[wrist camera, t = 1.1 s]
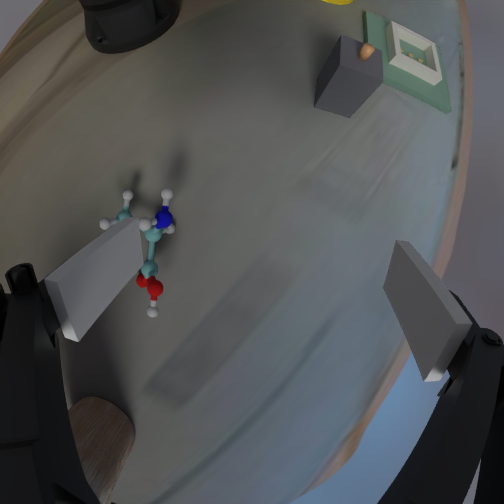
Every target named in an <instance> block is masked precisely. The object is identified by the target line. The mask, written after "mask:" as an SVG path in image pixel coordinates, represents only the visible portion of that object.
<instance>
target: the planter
mask: <svg viewBox="0 0 504 504" xmlns="http://www.w3.org/2000/svg"><path fill="white" fill-rule="evenodd" d="M68 414H69V419H70V423H71V428H72V432H73V436H74V440H75V444H76V448H77V451H78V455H79V458H80V462H81V465H82V468H83V471H84V475H85V477H86V480H87V482H88V484H89V486H90V487H91V488H92V490H93V491H94V493H95V494H96V496H97V498H98V499H99V501H100V503H101V504H106V503H107V501H108V499H109V496H110V494H111V492H112V490H113V487H114V485H115V483H116V481H117V479H118V477H119V474H120V472H121V470H122V468H123V466H124V464H125V461H126V459H127V457H128V455H129V453H130V451H131V449H132V446H133V444H134V441H135V430H134V427H133V425H132V423H131V421H130V420H129V418H128V417H127V416H126V414H125V413H124V412H123V411H122V410H121V409H119V408H118V407H117V406H116V405H114V404H112V403H111V402H109V401H107V400H105V399H102V398H99V397H84V398H82V399H80V400H79V401H78V402H76V403H75V404H74V405H73V406H72V407H71V408H70V409H69V410H68Z"/></svg>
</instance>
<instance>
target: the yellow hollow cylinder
mask: <svg viewBox="0 0 504 504" xmlns="http://www.w3.org/2000/svg"><path fill="white" fill-rule="evenodd" d="M323 1H325V2H329V3H333V4H340V5H344V4H349V3H351V2H352V1H353V0H323Z"/></svg>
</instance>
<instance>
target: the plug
mask: <svg viewBox="0 0 504 504" xmlns="http://www.w3.org/2000/svg"><path fill="white" fill-rule="evenodd" d="M383 81H384V80H383V60H382V50H379V49H377V48H375V47H374V46H373V45H372V44H370V43H362V42H359V41H357V40H354V39H351V38H348V37H345V36H342V35H341V36H340V38H339V40H338V42H337V44H336V45H335V47H334V49H333V51H332V53H331V55H330V57H329V58H328V60H327V62H326V64H325V66H324V68H323V70H322V71H321V73H320V75H319V77H318V79H317V87H316V96H315V103H314V107H315V108H319V109H322V110H325V111H329V112H332V113H335V114H339V115H342V116H345V117H348V118H350V117H351V116H352V115H353V114H354V113H355V112H356V110H357V109H358V108H359V107H360V106H361V105H362V104H363V103H364V102H365V101H366V100H367V99H368V97H369V96H370V95H371V94H372V93H373V92H374V91H375V90H376V89H377V88H378V87H379V86H380V85H381V84H382V83H383Z"/></svg>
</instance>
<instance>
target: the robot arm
mask: <svg viewBox="0 0 504 504" xmlns="http://www.w3.org/2000/svg"><path fill="white" fill-rule="evenodd" d="M79 2H80V3H81V5H82V7H83V9H84V16H85V30H86V36H87V39H88V41H89V42H90V44H91V45H92V47H93V48H94V49H95V50H97V51H99V52H102V53H107V54H115V53H122V52H127V51H131V50H134V49H137V48H139V47H142V46H144V45H146V44H148V43H150V42H152V41H153V40H155V39H157V38H158V37H160V36H161V35H162V34H164V33H165V32H166V31H167V30H168V29H169V28H170V27H171V26H172V25H173V24H174V22H175V20H176V19H177V16H178V5H177V0H79ZM143 265H144V263H143V255H142V247H141V239H140V229H139V219H138V218H136V217H125V218H124V219H122V220H121V221H120V222H118V223H117V224H115V225H114V226H112V227H111V228H110V229H108V230H107V231H105V232H104V233H103V234H101V235H100V236H98V237H97V238H96V239H94V240H93V241H92V242H90V243H89V244H88V245H86V246H85V247H84V248H82V249H81V250H80V251H78V252H77V253H76V254H75V255H73V256H72V257H71V258H69V259H67V260H66V261H65V262H64V263H62V264H61V266H59V267H57V268H56V269H55V270H54V271H52V272H51V273H50V274H49V275H48V276H46V277H45V278H44V279H43V280H42V281H40V282H39V283H38V282H37V279H36V276H35V272H34V269H33V266H32V265H31V264H30V263H23V264H19V265H16V266H14V267H12V268H11V269H9V270H8V271H7V272H6V274H5V277H6V280H7V282H8V285H9V288H10V291H11V294H5V292H4V290H3V287H2V284H0V504H101V503H100V501H99V499H98V498H97V496H96V494H95V493H94V491H93V490H92V488H91V487H90V486H89V484H88V482H87V480H86V477H85V475H84V471H83V468H82V465H81V462H80V458H79V455H78V451H77V448H76V444H75V440H74V436H73V432H72V428H71V423H70V419H69V414H68V409H67V403H66V398H65V392H64V385H63V378H62V370H61V361H60V351H59V338H58V336H57V333H56V331H57V329H58V328H59V327H60V326H61V329H62V331H63V334H64V336H65V338H68V339H71V340H74V341H77V342H79V341H80V340H81V338H82V337H83V336H84V335H85V333H86V332H87V331H88V330H89V328H90V327H91V326H92V325H93V323H94V322H95V321H96V320H97V318H98V317H99V316H100V315H101V314H102V312H103V311H104V310H105V309H106V308H107V306H108V305H109V304H110V303H111V302H112V300H113V299H114V298H115V297H116V296H117V294H118V293H119V292H120V291H121V290H122V289H123V288H124V286H125V285H126V284H127V283H128V282H129V281H130V279H131V278H132V277H133V276H134V275H135V274H136V273H137V272H138V270H139V269H140V268H141V267H142V266H143ZM383 289H384V291H385V293H386V295H387V297H388V299H389V301H390V303H391V305H392V307H393V309H394V312H395V314H396V316H397V318H398V320H399V323H400V325H401V327H402V329H403V332H404V334H405V336H406V339H407V341H408V343H409V346H410V348H411V350H412V353H413V355H414V358H415V360H416V363H417V365H418V368H419V370H420V373H421V376H422V378H423V381H424V382H428V381H437V380H440V379H441V377H442V376H443V374H444V373H445V371H446V370H448V372H449V374H450V377H449V379H448V380H447V382H446V383H445V385H444V386H443V388H442V389H441V390H440V392H439V393H438V395H437V396H440V398H439V400H438V402H437V404H436V407H435V409H434V411H433V413H432V415H431V417H430V419H429V421H428V423H427V425H426V427H425V429H424V431H423V433H422V435H421V437H420V438H419V440H418V442H417V444H416V446H415V447H414V449H413V451H412V453H411V454H410V456H409V458H408V459H407V461H406V462H405V464H404V466H403V467H402V469H401V470H400V472H399V473H398V475H397V477H396V478H395V480H394V481H393V483H392V484H391V485H390V487H389V488H388V490H387V491H386V492H385V494H384V495H383V497H382V498H381V499H380V500H379V502H378V503H377V504H462V503H463V501H464V499H465V497H466V495H467V492H468V490H469V488H470V485H471V483H472V480H473V478H474V475H475V473H476V470H477V467H478V465H479V462H480V459H481V463H480V472H479V477H478V483H477V489H476V494H475V499H474V504H504V345H503V341H502V339H501V338H500V336H498V334H497V333H495V332H494V331H492V330H490V329H487V328H480V327H479V325H478V324H477V322H476V321H475V319H474V318H473V317H472V315H471V314H470V313H469V311H467V308H466V307H465V306H464V305H463V303H462V302H461V300H460V299H459V297H458V296H456V295H455V294H454V293H453V292H451V291H450V290H448V289H447V287H446V286H445V285H444V284H443V282H442V281H441V280H440V278H439V277H438V276H437V275H436V273H435V272H434V271H433V270H432V269H431V267H430V266H429V265H428V264H427V262H426V261H425V260H424V259H423V258H422V257H421V255H420V254H419V253H418V252H417V251H416V249H415V248H414V247H413V246H412V245H411V244H410V243H409V242H406V241H397V240H396V242H395V246H394V250H393V254H392V258H391V262H390V265H389V269H388V273H387V276H386V279H385V283H384V286H383ZM111 504H115V503H113V502H111Z"/></svg>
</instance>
